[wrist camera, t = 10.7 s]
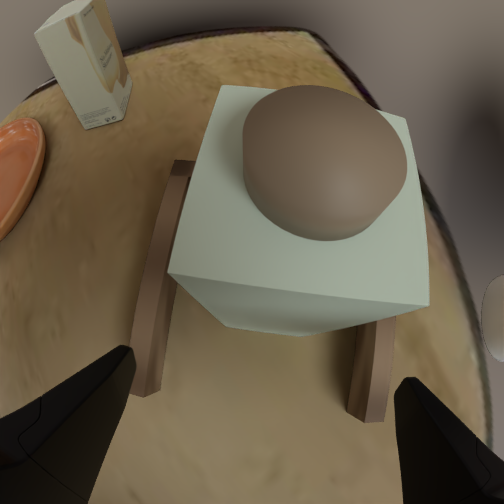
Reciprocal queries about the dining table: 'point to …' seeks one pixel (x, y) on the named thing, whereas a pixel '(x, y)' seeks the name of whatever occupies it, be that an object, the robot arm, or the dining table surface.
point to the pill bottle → (494, 318)
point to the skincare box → (87, 61)
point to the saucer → (19, 168)
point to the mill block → (302, 214)
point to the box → (162, 299)
